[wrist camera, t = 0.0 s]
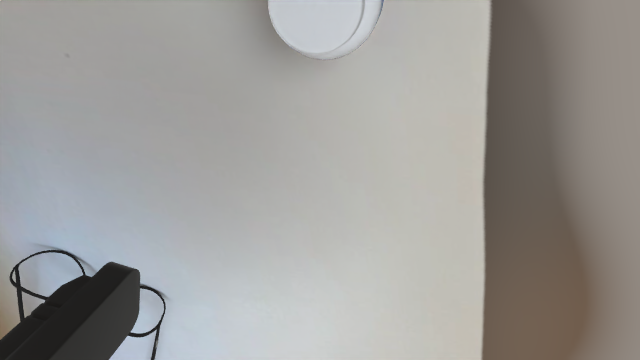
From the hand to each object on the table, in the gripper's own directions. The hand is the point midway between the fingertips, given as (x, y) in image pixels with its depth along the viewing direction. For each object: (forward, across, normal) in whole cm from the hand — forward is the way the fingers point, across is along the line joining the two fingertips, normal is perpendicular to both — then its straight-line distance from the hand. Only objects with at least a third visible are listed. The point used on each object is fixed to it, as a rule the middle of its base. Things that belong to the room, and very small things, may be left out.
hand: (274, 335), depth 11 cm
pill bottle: (+20, +3, -7) cm, 22 cm away
